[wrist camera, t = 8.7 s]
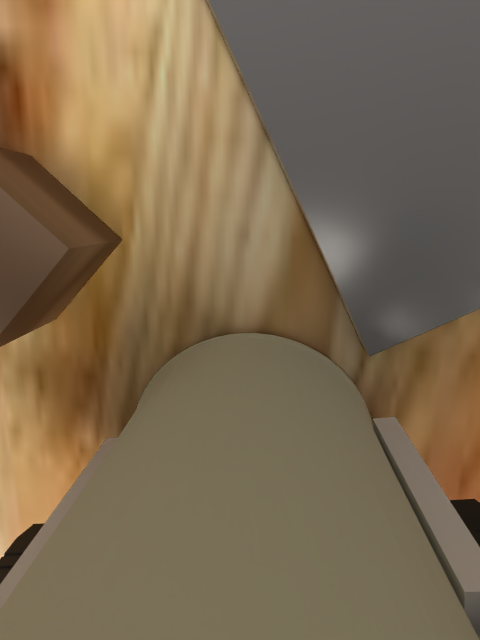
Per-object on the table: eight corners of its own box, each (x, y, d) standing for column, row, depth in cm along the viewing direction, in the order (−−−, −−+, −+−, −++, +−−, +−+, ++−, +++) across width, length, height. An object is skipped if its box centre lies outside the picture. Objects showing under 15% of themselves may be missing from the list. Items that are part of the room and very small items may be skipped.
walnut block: (32, 156, 13) (-63, 131, 9) (123, 239, 14) (68, 248, 10) (-31, 243, 14) (-141, 253, 10) (56, 318, 15) (-17, 354, 11)
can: (256, 582, 17) (235, 1394, 5) (87, 446, 16) (-423, 1097, 4) (425, 445, 15) (1018, 1294, 3) (243, 278, 14) (108, 629, 2)
